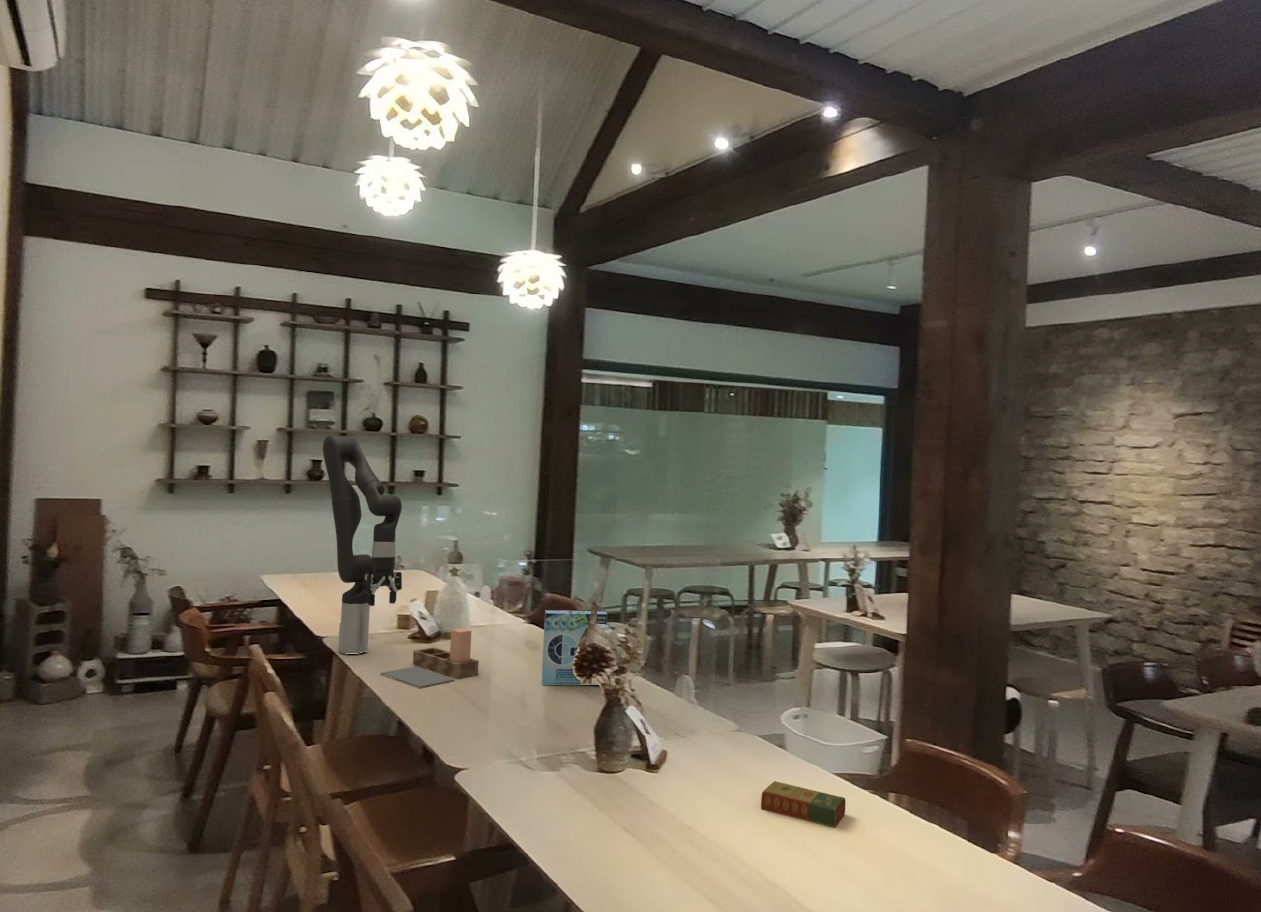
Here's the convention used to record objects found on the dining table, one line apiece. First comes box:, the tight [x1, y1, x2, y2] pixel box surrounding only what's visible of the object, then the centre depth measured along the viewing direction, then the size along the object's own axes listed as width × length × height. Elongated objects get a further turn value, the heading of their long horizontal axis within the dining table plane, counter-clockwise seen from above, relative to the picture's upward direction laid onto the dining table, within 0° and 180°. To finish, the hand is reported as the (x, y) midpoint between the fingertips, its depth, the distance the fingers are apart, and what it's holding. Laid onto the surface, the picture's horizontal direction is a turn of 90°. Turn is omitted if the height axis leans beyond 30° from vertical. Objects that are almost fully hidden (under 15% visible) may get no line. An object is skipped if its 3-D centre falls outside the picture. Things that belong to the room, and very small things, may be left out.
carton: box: [760, 780, 847, 829], centre depth 192 cm, size 8×16×4 cm, turn 62°
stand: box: [412, 647, 480, 680], centre depth 292 cm, size 23×8×4 cm, turn 50°
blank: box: [449, 627, 472, 663], centre depth 288 cm, size 4×4×14 cm
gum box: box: [541, 609, 608, 687], centre depth 283 cm, size 20×5×23 cm, turn 98°
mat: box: [380, 665, 456, 689], centre depth 281 cm, size 20×13×1 cm, turn 50°
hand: (381, 604), depth 299 cm, fingers open, 8 cm apart
